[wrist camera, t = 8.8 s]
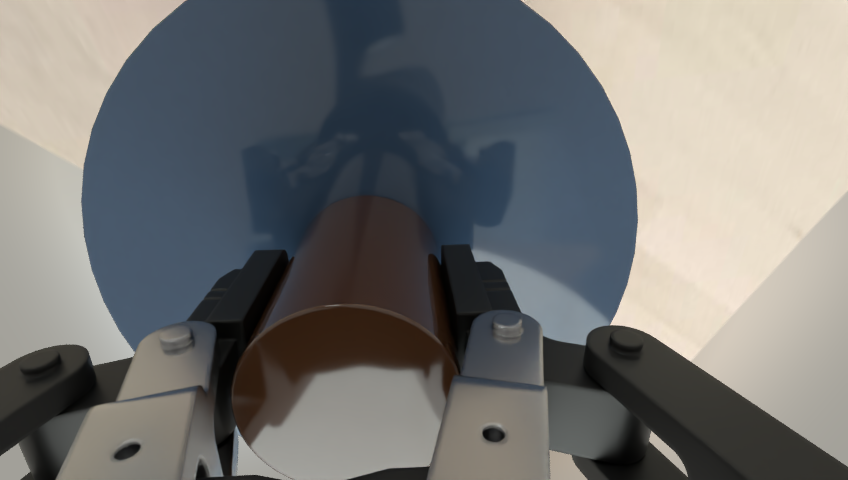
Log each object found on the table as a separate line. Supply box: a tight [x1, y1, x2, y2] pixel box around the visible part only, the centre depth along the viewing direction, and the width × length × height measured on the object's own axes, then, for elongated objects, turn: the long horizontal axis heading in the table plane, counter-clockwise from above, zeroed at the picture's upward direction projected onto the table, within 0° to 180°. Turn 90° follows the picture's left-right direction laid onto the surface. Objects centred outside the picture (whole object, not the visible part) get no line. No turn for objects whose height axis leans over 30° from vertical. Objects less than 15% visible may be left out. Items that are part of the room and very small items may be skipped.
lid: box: [81, 0, 638, 480], centre depth 11 cm, size 16×16×7 cm
